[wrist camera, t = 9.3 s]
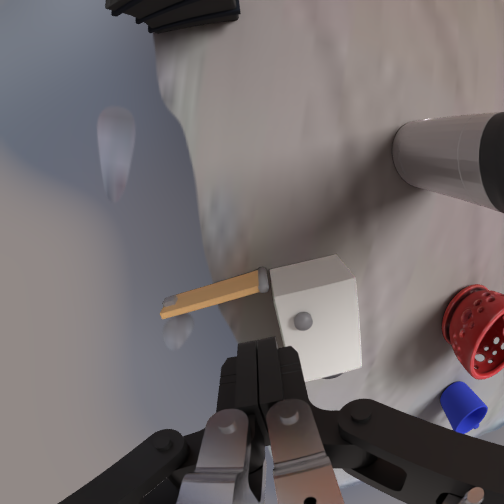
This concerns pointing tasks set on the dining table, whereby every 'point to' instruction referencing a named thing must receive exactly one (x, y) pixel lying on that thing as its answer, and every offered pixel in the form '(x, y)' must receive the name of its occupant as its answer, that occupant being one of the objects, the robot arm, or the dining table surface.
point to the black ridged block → (175, 12)
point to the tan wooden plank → (216, 293)
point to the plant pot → (476, 329)
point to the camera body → (319, 315)
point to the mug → (462, 407)
